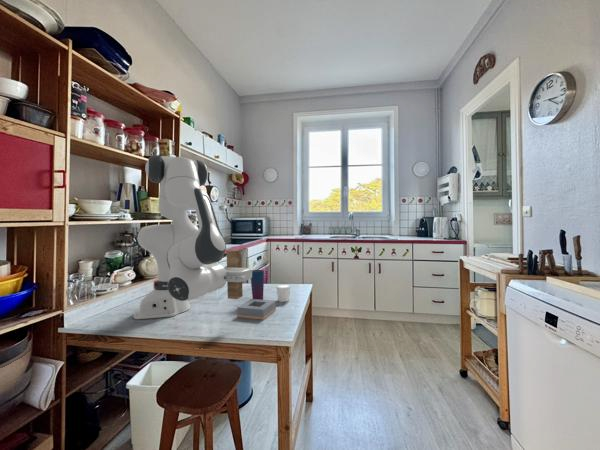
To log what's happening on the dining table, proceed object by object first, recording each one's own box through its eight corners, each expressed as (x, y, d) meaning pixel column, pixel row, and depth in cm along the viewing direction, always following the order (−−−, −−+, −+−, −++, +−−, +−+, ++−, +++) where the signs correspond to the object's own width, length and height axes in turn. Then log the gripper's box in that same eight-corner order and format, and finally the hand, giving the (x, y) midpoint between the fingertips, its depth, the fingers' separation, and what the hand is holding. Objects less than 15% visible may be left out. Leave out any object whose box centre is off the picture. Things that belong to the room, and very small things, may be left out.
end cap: (263, 319, 105) (263, 309, 105) (237, 316, 109) (237, 307, 109) (275, 309, 117) (275, 300, 117) (251, 307, 121) (251, 298, 120)
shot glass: (276, 298, 134) (276, 284, 134) (290, 297, 135) (289, 284, 134) (276, 302, 127) (276, 288, 127) (290, 301, 128) (290, 287, 128)
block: (236, 299, 98) (235, 251, 98) (227, 298, 100) (226, 250, 99) (242, 296, 102) (241, 249, 102) (233, 295, 103) (232, 249, 103)
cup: (262, 303, 126) (261, 272, 126) (248, 302, 128) (247, 272, 127) (266, 299, 133) (265, 269, 133) (254, 298, 134) (253, 269, 134)
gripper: (240, 269, 85) (259, 262, 98) (188, 266, 92) (213, 260, 105) (240, 288, 85) (260, 279, 98) (188, 284, 92) (213, 276, 105)
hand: (235, 269), depth 102 cm, fingers closed on block, 4 cm apart
